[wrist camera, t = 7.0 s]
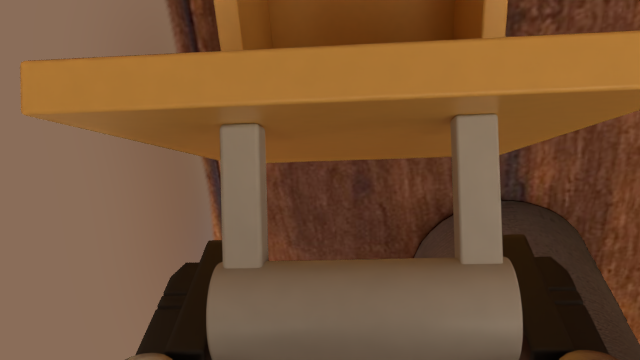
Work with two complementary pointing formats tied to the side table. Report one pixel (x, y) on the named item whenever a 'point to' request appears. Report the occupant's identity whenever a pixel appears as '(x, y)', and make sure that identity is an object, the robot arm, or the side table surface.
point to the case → (354, 22)
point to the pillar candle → (569, 251)
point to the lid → (354, 144)
